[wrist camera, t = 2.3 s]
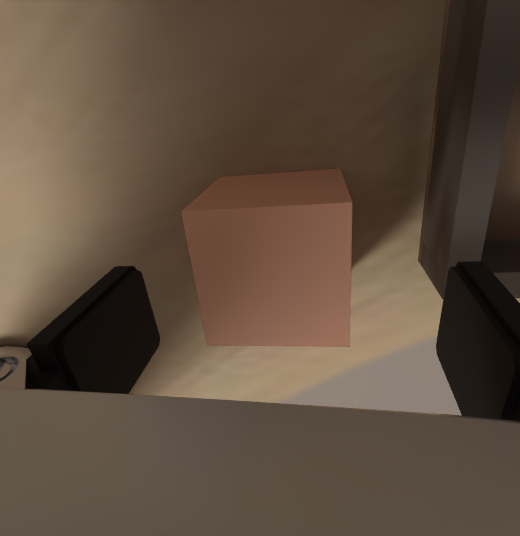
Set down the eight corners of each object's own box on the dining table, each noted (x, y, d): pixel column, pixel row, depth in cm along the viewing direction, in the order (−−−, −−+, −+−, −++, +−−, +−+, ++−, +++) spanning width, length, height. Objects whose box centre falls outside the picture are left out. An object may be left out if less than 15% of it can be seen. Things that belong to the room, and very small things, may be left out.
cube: (339, 277, 20) (349, 346, 14) (234, 279, 21) (207, 345, 15) (340, 168, 17) (352, 202, 12) (220, 176, 18) (180, 211, 13)
